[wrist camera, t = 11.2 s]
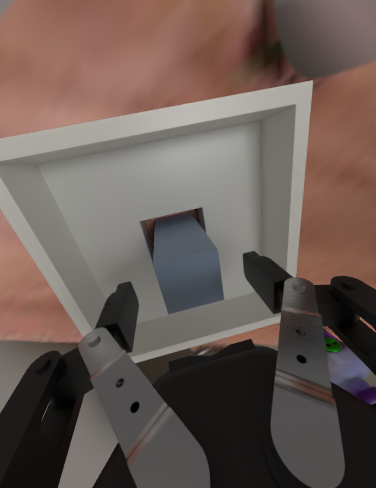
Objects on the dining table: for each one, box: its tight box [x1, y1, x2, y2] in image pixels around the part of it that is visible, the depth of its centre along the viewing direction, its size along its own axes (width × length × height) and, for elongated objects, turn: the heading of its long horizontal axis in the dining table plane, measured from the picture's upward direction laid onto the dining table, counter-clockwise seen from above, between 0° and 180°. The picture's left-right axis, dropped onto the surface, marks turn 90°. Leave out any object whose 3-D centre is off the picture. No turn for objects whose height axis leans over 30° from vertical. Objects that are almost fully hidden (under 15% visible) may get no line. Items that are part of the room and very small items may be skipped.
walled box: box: [0, 81, 313, 363], centre depth 17 cm, size 20×20×7 cm
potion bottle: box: [323, 328, 376, 407], centre depth 27 cm, size 9×9×12 cm
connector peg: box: [153, 212, 224, 315], centre depth 16 cm, size 4×4×10 cm
